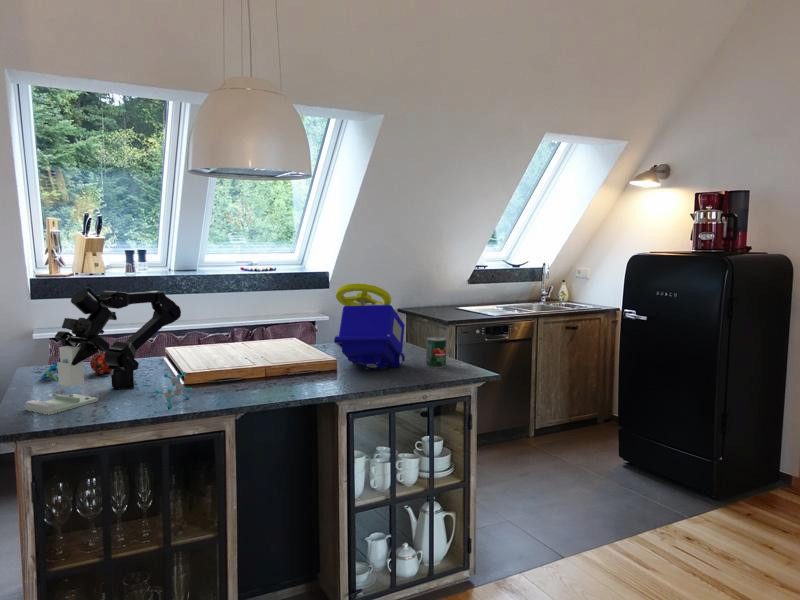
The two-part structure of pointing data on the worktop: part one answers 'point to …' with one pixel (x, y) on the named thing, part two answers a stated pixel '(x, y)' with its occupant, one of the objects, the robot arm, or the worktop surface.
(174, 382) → the molecular model
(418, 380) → the worktop surface
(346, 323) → the control box
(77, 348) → the block
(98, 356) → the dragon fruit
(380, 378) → the worktop surface
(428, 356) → the canned tomato
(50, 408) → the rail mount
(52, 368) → the blue green branched piece
